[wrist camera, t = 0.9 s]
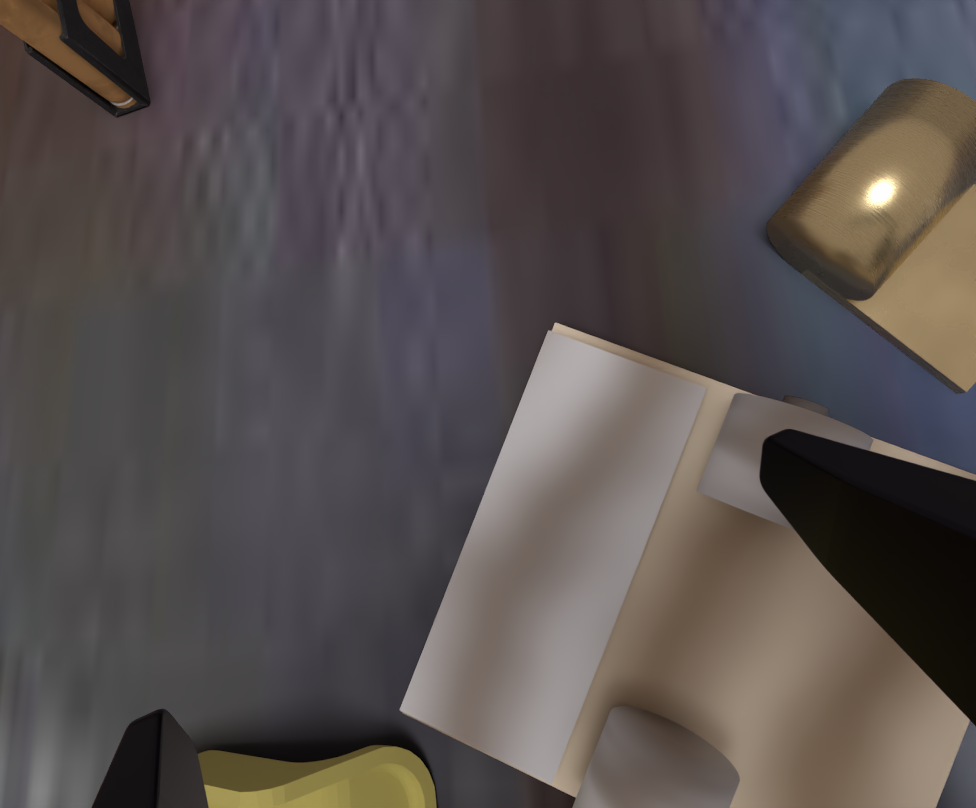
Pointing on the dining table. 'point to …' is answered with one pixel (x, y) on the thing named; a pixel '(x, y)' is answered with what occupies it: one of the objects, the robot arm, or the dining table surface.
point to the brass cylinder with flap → (897, 225)
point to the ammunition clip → (84, 47)
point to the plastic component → (319, 781)
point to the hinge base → (670, 609)
